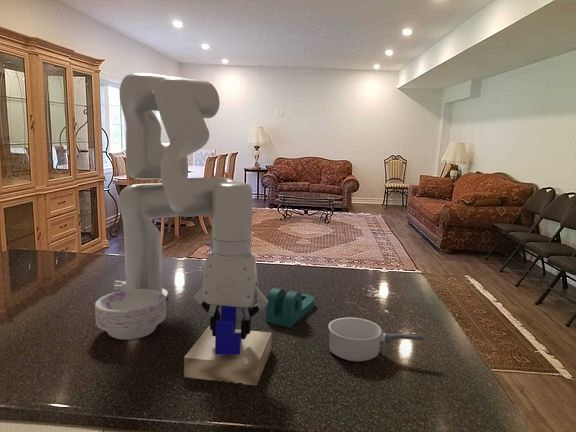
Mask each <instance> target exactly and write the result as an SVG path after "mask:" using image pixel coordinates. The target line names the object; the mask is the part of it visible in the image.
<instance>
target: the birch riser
mask: <svg viewBox="0 0 576 432" xmlns="http://www.w3.org/2000/svg"><path fill="white" fill-rule="evenodd" d="M235 332H236V333H241V328H240V329H238V328H236V331H235ZM272 333H273V332H270V331H269V332H268V331H259V330H251V331H250V334H247V336H246V338H245V339H242V340H241V348H240V354H215V336H212V330H210V325H208V327H207V328H206V329H205V330H204V332H203V333H202V334H201V335H200V337H199V338H198V339H197V340H196V341H195V343H194V344H193V345H192V347H191V348H190V349H189V350H188V352H187V353H186V354H185V355H184V357H183V377H184V378H189V379H197V380H198V379H199V380H207V381H213V380H215V381H214V382H222V381H225V382H224V383H230V382H233V383H232V384H238V383H242V384H241V385H246V386H247V385H249V386H258V384H259V382H260V379H261V377H262V373H263V372H264V370H265V367H266V364H267V362H268V359H269V357H270V354H271V352H272V340H273V339H272V335H273V334H272ZM216 380H217V381H216Z"/></svg>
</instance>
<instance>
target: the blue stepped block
mask: <svg viewBox="0 0 576 432" xmlns="http://www.w3.org/2000/svg"><path fill="white" fill-rule="evenodd" d="M220 307H221V310H220V320H216V332H215V354H240V348H241V340H242V338H241V333H236V332H235V331H236V329H237V309H238V307H227V306H220Z"/></svg>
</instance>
